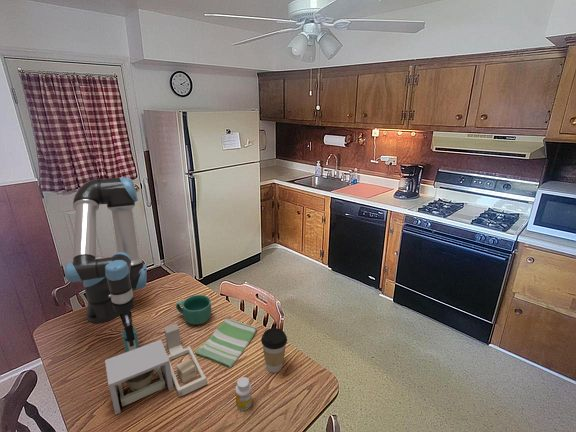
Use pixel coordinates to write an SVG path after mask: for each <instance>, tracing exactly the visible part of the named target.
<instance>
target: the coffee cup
mask: <svg viewBox="0 0 576 432" xmlns="http://www.w3.org/2000/svg"><path fill="white" fill-rule="evenodd" d="M260 341H261V344H262V351H263V357H264V363H265V366H266V367H265V368H266V370H267V372H269V373H272V374H277V373H278V372H281V370H282V368H283V362H284V358H285V353H286V345H287V343H288V337H287V335H286V332H285V331H284V330H283V329H281V328H278V327H271V328H268V329H266V330H265V331H264V332H263V334H262V336H261V340H260Z"/></svg>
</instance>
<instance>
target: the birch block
mask: <svg viewBox="0 0 576 432" xmlns="http://www.w3.org/2000/svg"><path fill="white" fill-rule="evenodd" d="M175 367H176V374H177V377H178V378H179V380H180V381H181V382H182V383H183V384H187V382H189V381H191V380H192V379H194V378H195V377H197V373H196V372H197V369H196V367H195V365H194V363H193V361H192V360H191V359H190V358H186V359H184V360H183V361H181V362H180V363H178V364H176V365H175Z"/></svg>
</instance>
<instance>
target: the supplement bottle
mask: <svg viewBox="0 0 576 432" xmlns="http://www.w3.org/2000/svg"><path fill="white" fill-rule="evenodd" d="M234 392H235V405H236V407H237V409H238V410H241V411H244V410H245V411H246V410H248V409H249V408H250V407H251V405H252V404H253V400H252V399H253V397H252V396H253V395H252V385H251V383H250V380H249V378H248V377H245V376H242V377H240V378H238V380H237V381H236V386H235V391H234Z"/></svg>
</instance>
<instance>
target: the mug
mask: <svg viewBox="0 0 576 432" xmlns="http://www.w3.org/2000/svg"><path fill="white" fill-rule="evenodd" d="M181 306H182V307H181ZM175 308H176V310H177V311H178V313H180V314H181V315H183V318H184V320H185V322H187V323H188V324H191V325H201V324H204V323H206V321H208V320H209V319H210V317H211V314H212V303H211V299H210V297H208V296H207V295H204V294H195V295H192V296H191V295H190V296H188V297H187V298H186V299H185V300H184V301H183V300H179V301H177V303H176V304H175Z"/></svg>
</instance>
